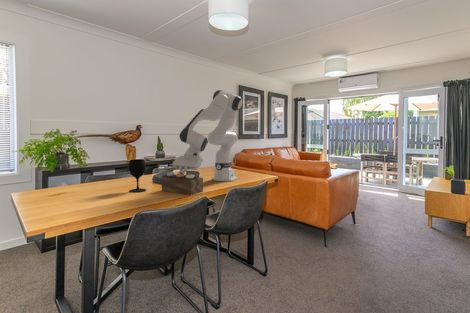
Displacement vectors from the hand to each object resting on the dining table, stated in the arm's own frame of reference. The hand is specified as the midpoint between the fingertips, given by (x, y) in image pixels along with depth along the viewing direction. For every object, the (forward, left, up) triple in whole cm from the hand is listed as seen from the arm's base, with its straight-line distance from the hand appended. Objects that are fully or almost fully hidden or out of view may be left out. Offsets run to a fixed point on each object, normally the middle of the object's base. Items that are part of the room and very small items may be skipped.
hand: (181, 173), depth 166 cm
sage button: (0, -8, -3) cm, 9 cm away
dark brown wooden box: (-2, 0, -12) cm, 12 cm away
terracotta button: (0, 0, -3) cm, 3 cm away
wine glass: (+12, -25, -12) cm, 31 cm away
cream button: (0, +8, -3) cm, 8 cm away
